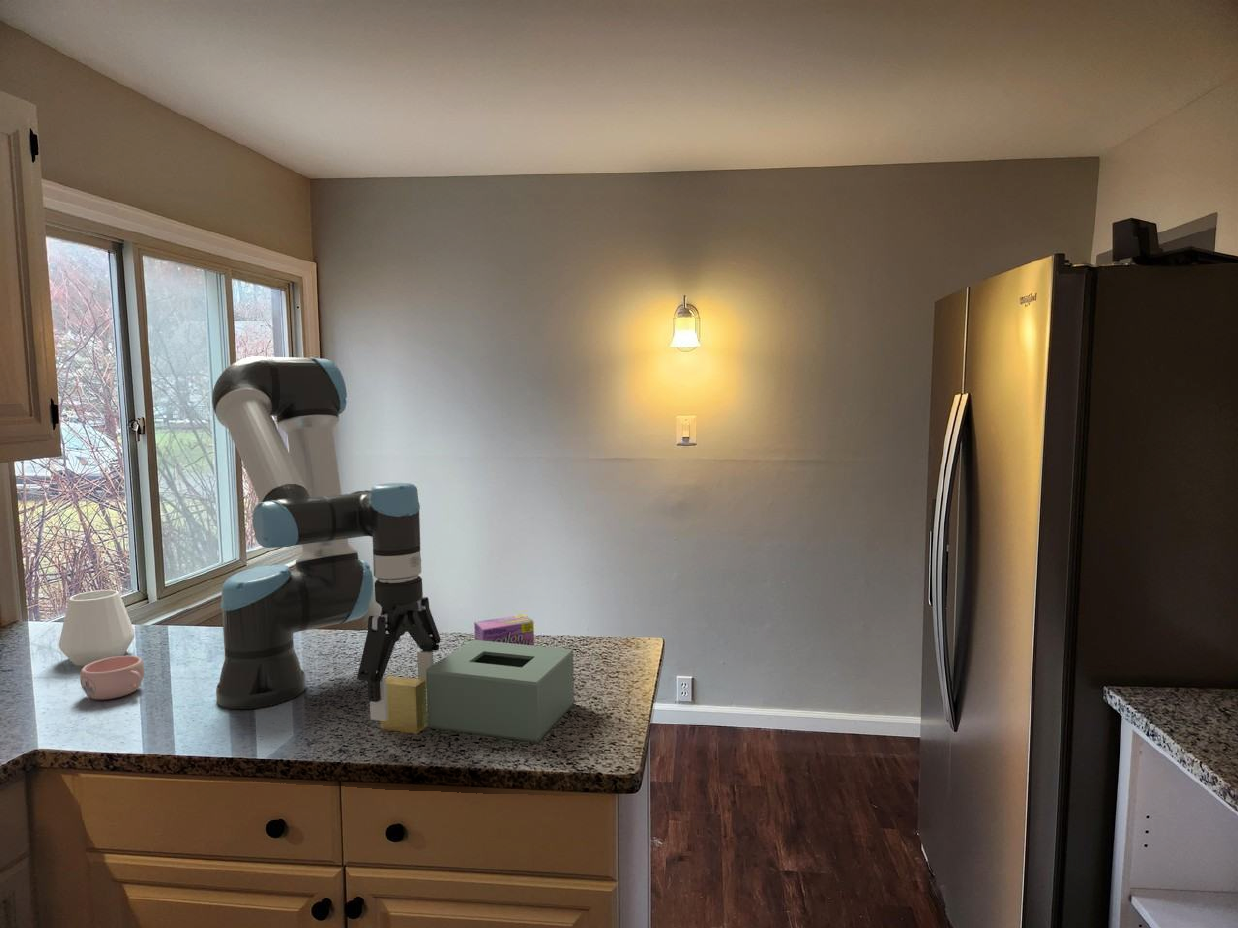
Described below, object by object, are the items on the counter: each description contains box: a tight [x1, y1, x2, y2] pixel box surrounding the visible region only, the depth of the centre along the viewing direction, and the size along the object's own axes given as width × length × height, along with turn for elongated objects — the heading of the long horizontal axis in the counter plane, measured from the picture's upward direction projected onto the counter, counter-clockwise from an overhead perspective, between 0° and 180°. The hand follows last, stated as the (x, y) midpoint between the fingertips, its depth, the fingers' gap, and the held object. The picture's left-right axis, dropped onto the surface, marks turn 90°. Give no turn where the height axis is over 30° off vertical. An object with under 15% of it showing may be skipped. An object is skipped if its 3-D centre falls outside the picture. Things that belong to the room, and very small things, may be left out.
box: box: [473, 614, 535, 646], centre depth 146 cm, size 10×6×12 cm, turn 117°
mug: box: [79, 655, 145, 700], centre depth 140 cm, size 12×10×6 cm
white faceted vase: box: [58, 589, 136, 667], centre depth 160 cm, size 13×13×14 cm
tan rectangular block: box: [379, 675, 428, 735], centre depth 125 cm, size 7×3×8 cm, turn 72°
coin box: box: [426, 639, 575, 744], centre depth 129 cm, size 20×16×10 cm
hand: (404, 703), depth 125 cm, fingers open, 13 cm apart
